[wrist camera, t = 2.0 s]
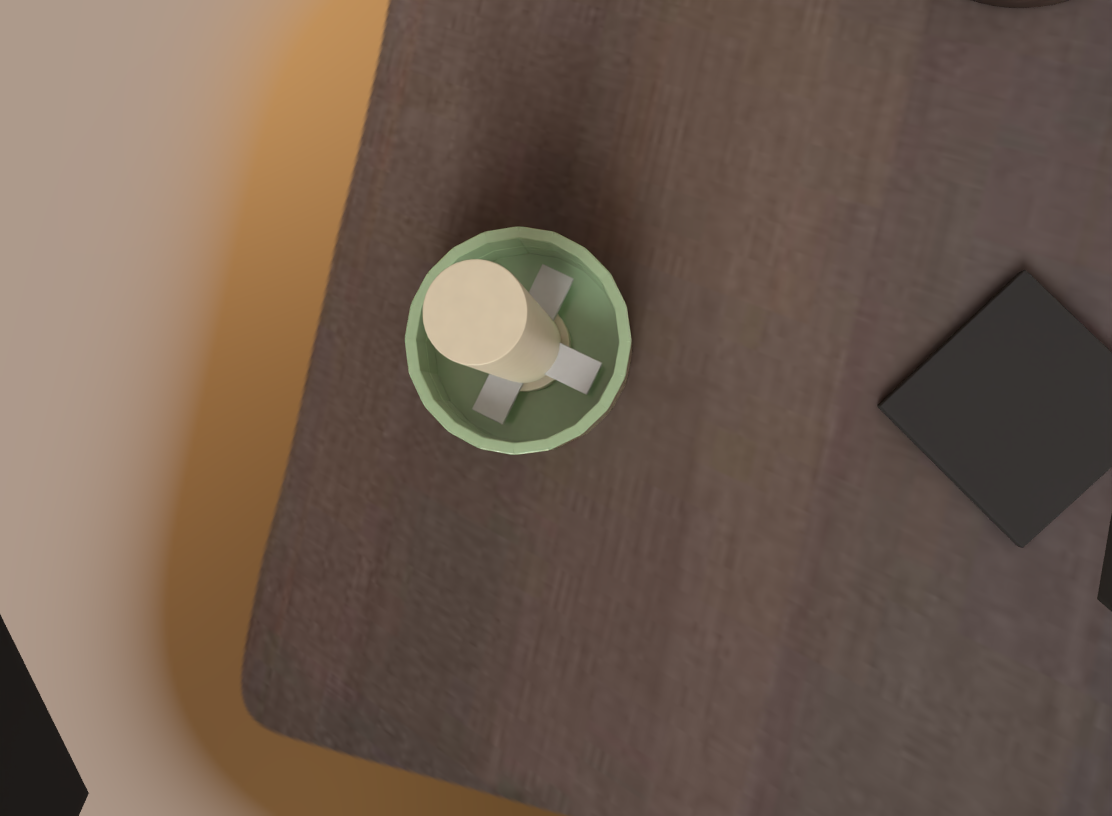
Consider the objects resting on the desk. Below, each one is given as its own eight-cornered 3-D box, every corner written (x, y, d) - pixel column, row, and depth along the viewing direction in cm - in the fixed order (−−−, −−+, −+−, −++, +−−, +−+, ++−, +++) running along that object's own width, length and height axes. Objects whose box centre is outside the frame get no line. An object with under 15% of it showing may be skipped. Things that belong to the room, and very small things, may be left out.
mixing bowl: (531, 203, 47) (519, 180, 43) (675, 350, 46) (678, 341, 42) (387, 346, 48) (360, 338, 43) (525, 494, 47) (512, 501, 42)
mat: (1020, 271, 45) (1025, 269, 44) (1166, 411, 44) (1173, 411, 43) (876, 406, 45) (879, 406, 45) (1017, 546, 44) (1022, 548, 44)
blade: (492, 244, 47) (424, 164, 33) (631, 310, 46) (625, 257, 32) (424, 383, 47) (328, 364, 33) (562, 452, 46) (525, 463, 32)
